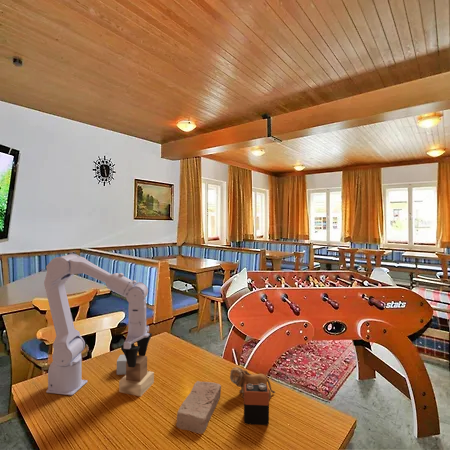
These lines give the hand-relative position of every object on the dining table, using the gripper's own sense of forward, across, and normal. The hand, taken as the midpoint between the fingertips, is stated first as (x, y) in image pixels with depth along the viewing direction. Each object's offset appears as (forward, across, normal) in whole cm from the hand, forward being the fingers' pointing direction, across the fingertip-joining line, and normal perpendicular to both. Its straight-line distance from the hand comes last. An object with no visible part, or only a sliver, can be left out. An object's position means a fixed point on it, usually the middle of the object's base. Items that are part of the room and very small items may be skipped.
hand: (137, 360), depth 96 cm
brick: (+9, -8, -24) cm, 27 cm away
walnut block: (+5, 0, 0) cm, 5 cm away
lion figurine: (+9, +2, -38) cm, 39 cm away
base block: (+9, 0, 0) cm, 9 cm away
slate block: (+9, +9, +9) cm, 16 cm away
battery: (+9, -9, -40) cm, 42 cm away
